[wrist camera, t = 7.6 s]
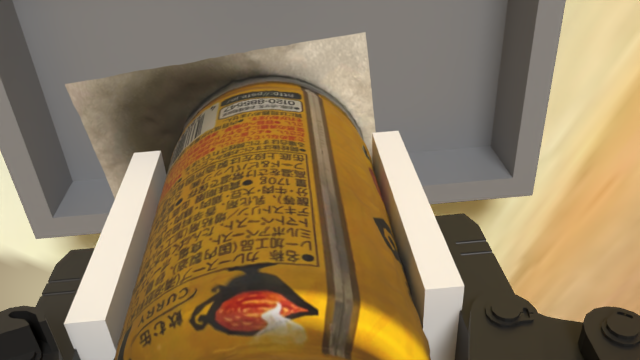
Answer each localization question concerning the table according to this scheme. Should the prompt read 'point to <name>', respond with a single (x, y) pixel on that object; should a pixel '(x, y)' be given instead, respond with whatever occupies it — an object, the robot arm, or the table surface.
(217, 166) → the condiment
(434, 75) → the tray
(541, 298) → the table surface
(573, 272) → the table surface
